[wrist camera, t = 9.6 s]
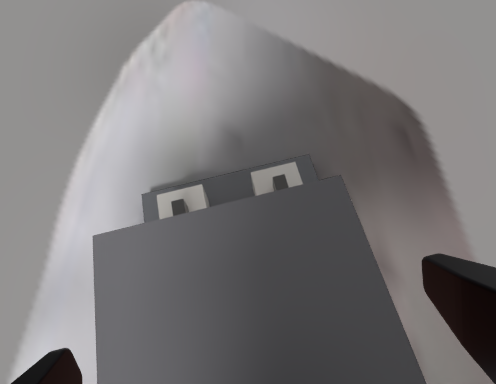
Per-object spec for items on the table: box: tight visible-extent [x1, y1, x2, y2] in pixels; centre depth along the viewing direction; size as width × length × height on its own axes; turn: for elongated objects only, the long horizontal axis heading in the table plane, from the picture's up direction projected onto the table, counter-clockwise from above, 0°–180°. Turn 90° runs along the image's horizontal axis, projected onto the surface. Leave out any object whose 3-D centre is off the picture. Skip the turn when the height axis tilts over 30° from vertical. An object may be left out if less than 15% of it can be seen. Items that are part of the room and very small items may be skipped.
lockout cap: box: [93, 175, 426, 384], centre depth 11 cm, size 5×5×12 cm
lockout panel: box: [142, 154, 318, 223], centre depth 16 cm, size 15×10×4 cm, turn 13°
